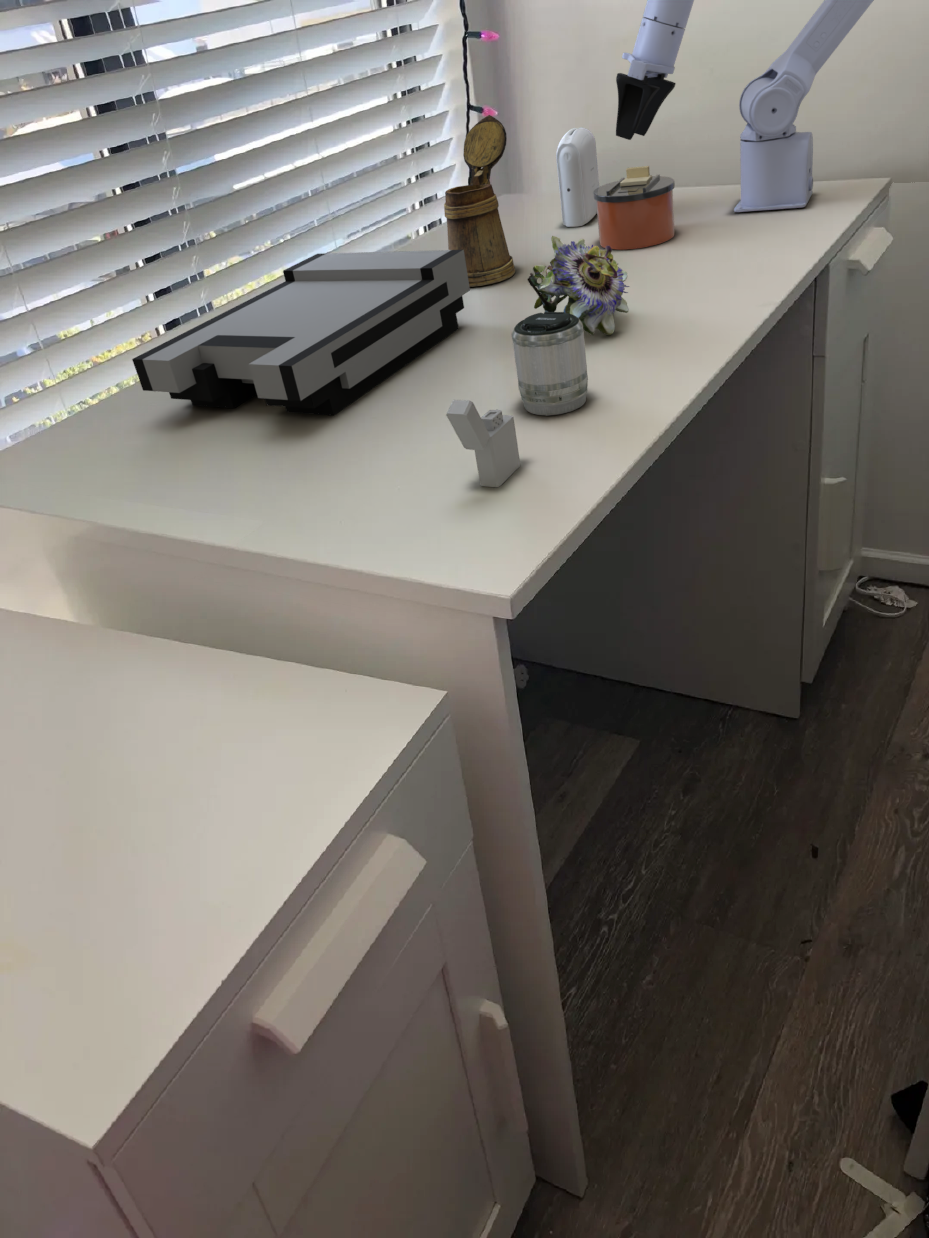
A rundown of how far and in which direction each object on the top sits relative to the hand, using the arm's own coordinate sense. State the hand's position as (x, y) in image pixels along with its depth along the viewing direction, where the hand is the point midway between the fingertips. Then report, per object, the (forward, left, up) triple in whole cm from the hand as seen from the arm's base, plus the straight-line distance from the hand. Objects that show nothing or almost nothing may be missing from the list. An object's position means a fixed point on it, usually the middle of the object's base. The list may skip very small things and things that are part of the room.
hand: (630, 136), depth 137 cm
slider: (-2, +7, -5) cm, 9 cm away
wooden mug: (+15, +20, -12) cm, 28 cm away
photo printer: (+10, -6, -12) cm, 16 cm away
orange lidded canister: (-2, +8, -12) cm, 14 cm away
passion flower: (-5, +44, -12) cm, 46 cm away
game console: (+21, +55, -12) cm, 60 cm away
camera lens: (-9, +64, -12) cm, 66 cm away
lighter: (-9, +80, -12) cm, 82 cm away
